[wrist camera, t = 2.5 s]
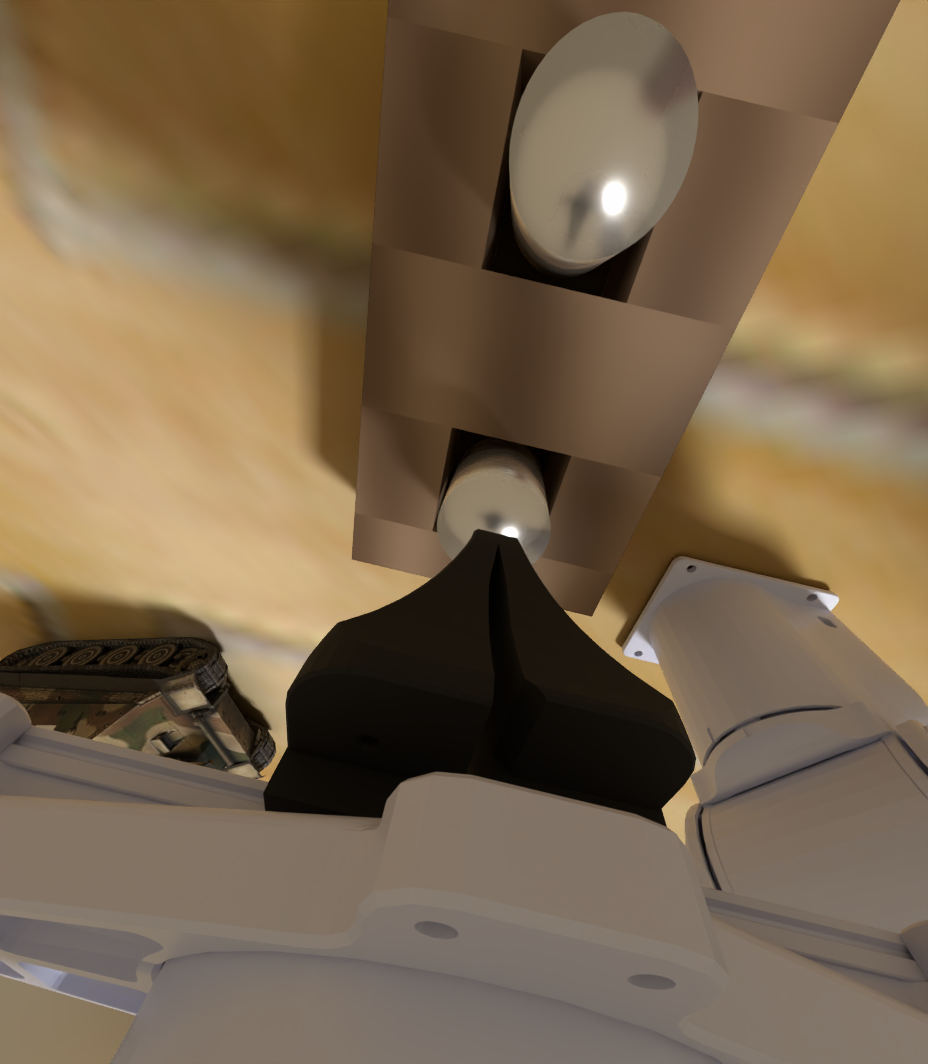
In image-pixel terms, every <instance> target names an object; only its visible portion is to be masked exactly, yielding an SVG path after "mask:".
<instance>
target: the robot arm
mask: <svg viewBox="0 0 928 1064" xmlns="http://www.w3.org/2000/svg"><path fill="white" fill-rule="evenodd" d="M690 565H693V567H692V568H690V569H687V567H688V566H690ZM811 594H812V595H811ZM809 595H811V596H809ZM808 596H809V597H808ZM838 602H839V597H838V596H837V595H836V594H835V593H834V592H831V591H828V590H824V589H819V588H815V587H811V586H807V585H802V584H798V583H794V582H790V581H786V580H781V579H777V578H773V577H769V576H765V575H760V574H756V573H752V572H748V571H744V570H739V569H735V568H731V567H727V566H723V565H718V564H714V563H710V562H706V561H702V560H697V559H693V558H689V557H685V556H680V557H677V558H675V559H674V560H673V561H672V562H671V564H670V566H669V568H668V569H667V571H666V573H665V574H664V576H663V578H662V580H661V581H660V583H659V585H658V586H657V588H656V590H655V591H654V593H653V595H652V597H651V598H650V600H649V602H648V603H647V605H646V607H645V609H644V610H643V612H642V614H641V615H640V617H639V619H638V621H637V622H636V624H635V626H634V627H633V629H632V631H631V632H630V634H629V636H628V638H627V639H626V641H625V643H624V644H623V646H622V651H623V654H624V655H625V656H628V657H632V658H636V659H640V660H644V661H649V662H653V663H657V664H660V667H661V669H662V671H663V674H664V676H665V679H666V681H667V683H668V686H669V688H670V691H671V693H672V695H673V698H674V700H675V703H676V705H677V707H678V710H679V712H680V715H681V717H682V720H683V722H684V724H685V727H686V729H687V732H688V734H689V736H690V739H691V741H692V744H693V746H694V748H695V751H696V753H697V756H698V758H699V761H700V763H701V765H702V769H701V770H699V771H698V772H696V773H694V774H692V773H693V771H694V768H695V761H696V757H695V754H694V751H693V748H692V745H691V742H690V740H689V737H688V735H687V732H686V730H685V727H684V725H683V722H682V720H681V718H680V715H679V713H678V711H677V709H676V707H675V705H674V703H673V701H672V700H670V699H669V698H667V697H666V696H664V695H663V694H661V693H660V692H659V691H657V690H656V689H654V688H653V687H651V686H650V685H648V684H647V683H645V682H644V681H643V680H641V679H640V678H638V677H637V676H635V675H634V674H633V673H631V672H630V671H629V670H627V669H626V668H625V667H624V666H622V665H621V664H620V663H619V662H617V661H616V660H615V659H614V658H612V657H611V656H610V655H609V654H607V653H606V652H605V651H604V650H603V649H602V648H601V647H599V646H598V645H597V644H596V643H595V642H594V641H593V640H592V639H591V638H590V637H589V636H588V635H587V634H586V633H584V632H583V631H582V630H581V629H580V628H579V627H578V626H577V625H576V624H575V622H574V621H573V620H572V619H571V618H570V617H569V616H568V615H567V613H566V612H565V611H564V610H563V609H562V608H561V607H560V605H559V604H558V603H557V602H556V600H555V599H554V598H553V596H552V595H551V594H550V592H549V591H548V590H547V588H546V587H545V585H544V584H543V582H542V581H541V579H540V578H539V576H538V575H537V573H536V571H535V570H534V568H533V566H532V565H531V563H530V561H529V559H528V557H527V555H526V554H525V552H524V550H523V548H522V546H521V544H520V542H519V540H518V539H517V538H515V537H511V536H507V535H502V534H498V533H494V532H490V531H486V530H481V529H477V530H475V531H474V532H473V535H472V537H471V538H470V540H469V541H468V543H467V544H466V546H465V547H464V548H463V549H462V550H461V552H460V553H459V554H458V555H457V556H456V557H455V558H454V559H453V560H452V561H451V562H450V563H449V564H448V565H447V566H446V567H445V568H444V569H443V570H442V571H441V572H439V573H438V574H437V575H436V576H435V577H433V578H432V579H431V580H429V581H428V582H427V583H425V584H424V585H422V586H421V587H419V588H418V589H416V590H415V591H413V592H411V593H410V594H408V595H406V596H405V597H403V598H401V599H399V600H397V601H395V602H393V603H391V604H389V605H386V606H384V607H382V608H380V609H378V610H375V611H373V612H370V613H367V614H364V615H361V616H358V617H354V618H351V619H348V620H345V621H341V622H339V623H337V624H336V625H335V626H334V627H333V628H332V629H331V630H330V632H329V633H328V634H327V635H326V636H325V637H324V638H323V640H322V641H321V642H320V643H319V644H318V646H317V647H316V648H315V649H314V650H313V652H312V653H311V654H310V656H309V657H308V659H307V660H306V662H305V663H304V665H303V667H302V668H301V670H300V672H299V673H298V675H297V677H296V678H295V680H294V682H293V683H292V685H291V687H290V688H289V690H288V692H287V698H286V704H285V705H286V723H287V741H288V747H287V749H286V751H285V753H284V754H283V756H282V758H281V760H280V762H279V764H278V766H277V768H276V770H275V771H274V773H273V775H272V777H271V779H270V781H269V782H266V781H262V780H258V779H254V778H249V777H245V776H241V775H237V774H233V773H229V772H224V771H220V770H216V769H212V768H208V767H204V766H199V765H195V764H191V763H187V762H183V761H179V760H174V759H170V758H166V757H162V756H158V755H154V754H149V753H145V752H141V751H137V750H133V749H129V748H124V747H120V746H116V745H112V744H108V743H104V742H99V741H95V740H91V739H87V738H83V737H79V736H74V735H70V734H66V733H62V732H58V731H54V730H49V729H45V728H41V727H37V726H33V725H31V719H30V717H29V714H28V712H27V711H26V709H25V708H24V707H23V706H22V704H21V703H20V702H18V701H17V700H15V699H14V698H12V697H11V696H8V695H6V694H3V693H0V975H1V976H4V977H8V978H11V979H14V980H18V981H21V982H24V983H28V984H31V985H35V986H38V987H41V988H45V989H48V990H51V991H55V992H58V993H62V994H65V995H69V996H72V997H75V998H78V999H82V1000H86V1001H89V1002H92V1003H96V1004H99V1005H102V1006H106V1007H109V1008H112V1009H116V1010H119V1011H122V1012H126V1013H129V1014H133V1015H136V1016H135V1018H134V1020H133V1022H132V1024H131V1026H130V1027H129V1029H128V1031H127V1033H126V1035H125V1037H124V1039H123V1040H122V1042H121V1044H120V1046H119V1048H118V1049H117V1051H116V1053H115V1055H114V1057H113V1059H112V1060H111V1062H110V1064H928V707H927V705H926V704H925V702H924V701H923V699H922V698H921V697H920V696H919V695H918V693H917V692H916V691H915V690H914V689H913V688H912V687H911V686H910V685H909V684H907V683H906V682H905V681H904V680H903V679H902V678H901V677H900V676H899V675H898V674H897V673H896V672H895V671H894V670H892V669H891V668H890V667H889V666H888V665H887V664H886V663H885V662H884V661H883V660H882V659H881V658H880V657H879V656H877V655H876V654H875V653H874V652H873V651H872V650H871V649H870V648H869V647H868V646H867V645H866V644H865V643H864V642H862V641H861V640H860V639H859V638H858V637H857V636H856V635H855V634H854V633H853V632H852V631H851V630H850V629H849V628H847V627H846V626H845V625H844V624H843V623H842V622H841V621H840V620H839V619H838V618H837V617H836V616H835V615H834V614H832V613H831V612H830V611H831V610H832V609H833V608H834V607H835V606H836V604H837V603H838ZM636 651H639V652H636ZM691 774H692V775H691ZM689 777H690V778H691V780H692V783H693V785H694V788H695V791H696V793H697V796H698V799H699V801H700V803H697V804H695V805H693V806H691V807H690V808H689V810H688V811H687V814H686V818H685V845H684V844H683V843H682V841H681V840H680V839H679V837H678V836H677V834H676V833H674V832H673V831H671V830H670V829H669V828H667V826H666V822H665V819H664V816H663V812H662V808H663V806H664V805H665V804H666V803H667V802H668V801H669V800H670V799H671V798H672V797H673V796H674V795H675V794H676V793H677V792H678V791H679V790H680V789H681V788H682V787H683V785H684V784H685V783H686V782H687V780H688V779H689Z"/></svg>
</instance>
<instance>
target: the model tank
mask: <svg viewBox="0 0 928 1064" xmlns="http://www.w3.org/2000/svg"><path fill="white" fill-rule="evenodd" d="M227 671H228V666H227V664H226V663H225V661H224V659H223V658H222V656H221V654H220V653H219V651H218V650H217V648H216V646H214V645H212V644H209V643H207V642H205V641H203V640H200V639H198V638H192V637H175V638H144V639H113V640H82V641H56V642H51V643H45V644H40V645H36V646H32V647H28V648H24V649H20V650H18V651H16V652H14V653H12V654H10V655H8V656H7V657H5V658H4V659H2V660H1V661H0V693H3V694H6V695H8V696H11V697H12V698H14V699H15V700H17V701H18V702H20V703H21V704H22V706H23V707H24V708H25V709H26V711H27V712H28V714H29V717H30V719H31V725H33V726H37V727H41V728H45V729H49V730H54V731H58V732H62V733H66V734H70V735H74V736H79V737H83V738H87V739H91V740H95V741H99V742H104V743H108V744H112V745H116V746H120V747H124V748H129V749H133V750H137V751H141V752H145V753H149V754H154V755H158V756H162V757H166V758H170V759H174V760H179V761H183V762H187V763H191V764H195V765H199V766H204V767H208V768H212V769H216V770H220V771H224V772H229V773H233V774H237V775H241V776H245V777H249V778H254V779H258V778H261V777H264V776H261V775H260V774H259V772H260V771H262V770H263V769H264V768H265V767H266V766H268V765H269V764H270V763H271V761H272V759H273V757H274V755H275V753H276V745H275V742H274V740H273V738H272V737H271V735H270V734H269V732H268V730H267V729H266V728H265V727H263V726H262V725H260V724H258V723H256V722H255V721H253V720H251V719H249V718H244V717H243V716H242V714H241V712H240V711H239V709H238V708H237V706H236V705H235V703H234V702H233V700H232V699H231V697H230V696H229V694H228V692H227V691H228V688H229V687H230V685H229V684H228V683H227V684H226V681H227ZM225 684H226V685H225ZM224 685H225V686H224ZM227 685H228V687H227V688H225V687H226V686H227ZM225 767H227V768H225ZM265 776H266V775H265Z"/></svg>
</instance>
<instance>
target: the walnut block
mask: <svg viewBox="0 0 928 1064" xmlns="http://www.w3.org/2000/svg"><path fill="white" fill-rule="evenodd" d="M899 2H900V0H388V13H387V28H386V43H385V59H384V74H383V89H382V104H381V120H380V135H379V150H378V166H377V181H376V196H375V211H374V227H373V242H372V257H371V272H370V288H369V303H368V318H367V334H366V349H365V364H364V379H363V395H362V410H361V425H360V441H359V456H358V471H357V486H356V502H355V517H354V532H353V547H352V559H353V560H357V561H361V562H365V563H370V564H374V565H378V566H382V567H386V568H391V569H395V570H399V571H403V572H407V573H412V574H416V575H420V576H424V577H428V578H433V577H435V576H436V575H437V574H438V573H439V572H441V571H442V570H443V569H444V568H445V567H446V566H447V565H448V564H449V563H450V562H451V561H452V559H451V558H450V557H449V556H448V555H447V554H446V552H445V551H444V549H443V547H442V545H441V543H440V540H439V537H438V532H437V520H438V515H439V511H440V509H441V506H442V504H443V501H444V499H445V496H446V493H447V491H448V488H449V486H450V481H451V476H452V471H453V466H454V461H455V456H456V451H457V446H458V441H459V436H460V431H461V430H465V431H469V432H473V433H478V434H482V435H486V436H490V437H495V438H499V439H503V440H507V441H511V442H516V443H520V444H524V445H528V446H532V447H537V448H541V449H545V450H549V451H550V453H549V457H548V460H547V463H546V466H545V469H544V472H543V475H542V476H543V482H544V488H545V494H546V500H547V506H548V512H549V518H550V524H551V533H550V539H549V542H548V545H547V547H546V549H545V551H544V553H543V554H542V556H541V557H540V558H539V559H538V560H537V561H536V562H535V563H534V564H533V565H532V566H533V568H534V570H535V571H536V573H537V575H538V576H539V578H540V579H541V581H542V582H543V584H544V585H545V587H546V588H547V590H548V591H549V592H550V594H551V595H552V596H553V598H554V599H555V600H556V602H557V603H558V604H559V605H560V607H561V608H562V609H563V610H567V611H571V612H575V613H579V614H583V615H588V616H592V615H593V613H594V611H595V609H596V607H597V605H598V603H599V601H600V599H601V597H602V595H603V593H604V591H605V589H606V587H607V585H608V583H609V581H610V579H611V577H612V575H613V573H614V571H615V569H616V567H617V565H618V563H619V561H620V559H621V557H622V555H623V553H624V551H625V549H626V547H627V545H628V543H629V541H630V539H631V537H632V535H633V533H634V531H635V529H636V527H637V525H638V523H639V521H640V519H641V517H642V515H643V513H644V511H645V509H646V507H647V505H648V503H649V501H650V499H651V497H652V495H653V493H654V491H655V489H656V487H657V485H658V483H659V481H660V479H661V477H662V475H663V473H664V471H665V469H666V467H667V465H668V463H669V461H670V459H671V457H672V455H673V453H674V451H675V449H676V447H677V445H678V443H679V441H680V439H681V437H682V435H683V433H684V431H685V429H686V427H687V425H688V423H689V421H690V419H691V417H692V415H693V413H694V411H695V409H696V407H697V405H698V403H699V401H700V399H701V397H702V395H703V393H704V391H705V389H706V387H707V385H708V383H709V381H710V379H711V377H712V375H713V373H714V371H715V369H716V367H717V365H718V363H719V361H720V359H721V357H722V355H723V353H724V351H725V349H726V347H727V345H728V343H729V341H730V339H731V337H732V335H733V333H734V331H735V329H736V327H737V325H738V323H739V321H740V319H741V317H742V315H743V313H744V311H745V309H746V307H747V305H748V303H749V301H750V299H751V297H752V295H753V293H754V291H755V289H756V287H757V285H758V283H759V281H760V279H761V277H762V275H763V273H764V271H765V269H766V267H767V265H768V263H769V261H770V259H771V257H772V255H773V254H774V252H775V250H776V248H777V246H778V244H779V242H780V240H781V238H782V236H783V234H784V232H785V230H786V228H787V226H788V224H789V222H790V220H791V218H792V216H793V214H794V212H795V210H796V208H797V206H798V204H799V202H800V200H801V198H802V196H803V194H804V192H805V190H806V188H807V186H808V184H809V182H810V180H811V178H812V176H813V174H814V172H815V170H816V168H817V166H818V164H819V162H820V160H821V158H822V156H823V154H824V152H825V150H826V148H827V146H828V144H829V142H830V140H831V138H832V136H833V134H834V132H835V130H836V128H837V126H838V124H839V122H840V120H841V118H842V116H843V114H844V112H845V110H846V108H847V106H848V104H849V102H850V100H851V98H852V96H853V94H854V92H855V90H856V88H857V86H858V84H859V82H860V80H861V78H862V76H863V74H864V72H865V70H866V68H867V66H868V64H869V62H870V60H871V58H872V56H873V54H874V52H875V50H876V48H877V46H878V44H879V42H880V40H881V38H882V36H883V34H884V32H885V30H886V28H887V26H888V24H889V22H890V20H891V18H892V16H893V14H894V12H895V10H896V8H897V6H898V4H899ZM616 12H629V13H637V14H641V15H644V16H646V17H649V18H652V19H653V20H655V21H657V22H658V23H660V24H662V25H663V26H664V27H665V28H666V29H667V30H668V31H670V32H671V33H672V34H673V35H674V37H675V38H676V39H677V41H678V42H679V43H680V45H681V46H682V48H683V50H684V52H685V53H686V55H687V57H688V59H689V62H690V65H691V68H692V70H693V73H694V78H695V82H696V87H697V95H698V127H697V136H696V142H695V146H694V151H693V155H692V158H691V162H690V165H689V168H688V171H687V173H686V176H685V178H684V180H683V183H682V185H681V187H680V189H679V191H678V193H677V194H676V196H675V198H674V200H673V202H672V203H671V205H670V206H669V207H668V209H667V210H666V212H665V213H664V215H663V216H662V217H661V218H660V219H659V221H658V222H657V223H656V224H655V225H654V226H653V227H652V228H651V229H650V230H649V231H648V232H647V233H646V234H645V235H644V236H643V237H641V238H640V239H639V240H638V241H636V242H635V243H634V244H632V245H631V246H629V247H627V248H626V249H624V250H623V251H621V252H620V253H618V254H616V255H615V256H614V259H613V262H612V265H611V268H610V271H609V274H608V277H607V280H606V283H605V286H604V289H603V292H602V296H601V297H598V296H594V295H590V294H585V293H581V292H577V291H573V290H568V289H564V288H560V287H556V286H551V285H547V284H543V283H539V282H535V281H530V280H526V279H522V278H518V277H513V276H509V275H505V274H501V273H496V272H492V270H493V265H494V260H495V255H496V250H497V245H498V240H499V235H500V230H501V225H502V220H503V215H504V210H505V205H506V200H507V195H508V190H509V185H510V172H509V152H510V141H511V134H512V128H513V124H514V120H515V116H516V112H517V109H518V106H519V103H520V101H521V98H522V95H523V93H524V91H525V89H526V87H527V84H528V82H529V81H530V79H531V77H532V75H533V74H534V72H535V70H536V68H537V67H538V65H539V64H540V63H541V61H542V60H543V59H544V57H545V56H546V54H547V53H548V52H549V51H550V50H551V49H552V48H553V47H554V46H555V45H556V43H557V42H558V41H559V40H561V39H562V38H563V37H564V36H565V35H566V34H568V33H569V32H570V31H571V30H573V29H574V28H576V27H578V26H579V25H581V24H582V23H584V22H586V21H588V20H591V19H593V18H595V17H597V16H601V15H605V14H609V13H616Z"/></svg>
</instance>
